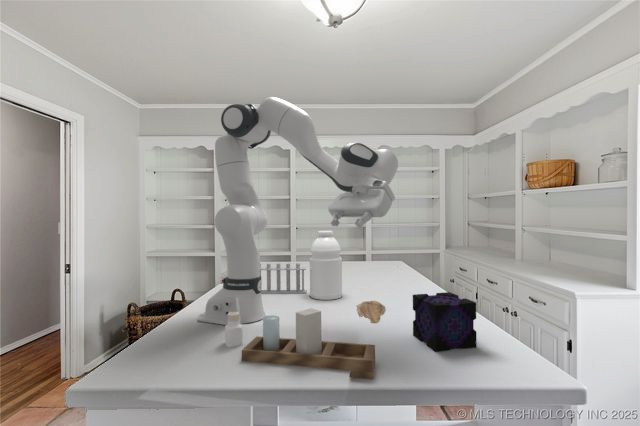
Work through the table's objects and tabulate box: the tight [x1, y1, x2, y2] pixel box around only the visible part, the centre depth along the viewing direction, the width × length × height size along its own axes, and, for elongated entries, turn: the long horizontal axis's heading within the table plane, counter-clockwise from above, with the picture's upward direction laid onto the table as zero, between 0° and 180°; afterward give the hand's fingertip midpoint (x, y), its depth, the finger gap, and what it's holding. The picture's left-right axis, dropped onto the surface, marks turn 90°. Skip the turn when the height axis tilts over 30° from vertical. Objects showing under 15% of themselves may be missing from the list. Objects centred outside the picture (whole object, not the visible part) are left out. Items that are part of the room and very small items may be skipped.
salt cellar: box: [262, 314, 281, 352], centre depth 84 cm, size 4×4×9 cm
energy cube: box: [412, 291, 477, 353], centre depth 95 cm, size 12×12×12 cm
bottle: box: [309, 230, 343, 301], centre depth 147 cm, size 14×14×28 cm
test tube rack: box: [260, 262, 308, 295], centre depth 155 cm, size 25×4×13 cm, turn 88°
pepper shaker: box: [224, 312, 244, 348], centre depth 91 cm, size 4×4×10 cm
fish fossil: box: [356, 300, 386, 324], centre depth 123 cm, size 26×10×1 cm, turn 177°
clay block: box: [295, 307, 323, 355], centre depth 82 cm, size 4×5×11 cm
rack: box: [241, 336, 376, 380], centre depth 82 cm, size 30×9×4 cm, turn 78°
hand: (345, 225), depth 96 cm, fingers open, 8 cm apart
